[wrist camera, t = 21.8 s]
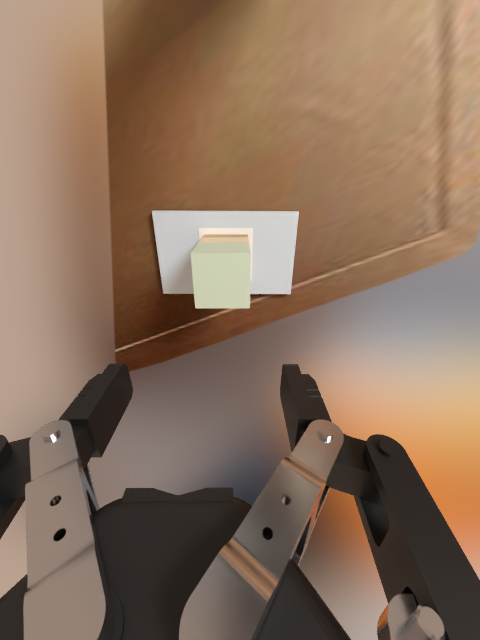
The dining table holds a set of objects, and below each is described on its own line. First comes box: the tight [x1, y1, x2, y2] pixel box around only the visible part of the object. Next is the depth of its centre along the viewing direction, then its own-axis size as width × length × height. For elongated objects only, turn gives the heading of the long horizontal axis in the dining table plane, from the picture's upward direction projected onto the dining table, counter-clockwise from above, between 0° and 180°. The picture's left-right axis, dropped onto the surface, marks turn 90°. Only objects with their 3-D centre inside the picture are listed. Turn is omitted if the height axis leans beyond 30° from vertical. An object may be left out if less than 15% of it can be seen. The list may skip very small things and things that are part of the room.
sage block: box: [190, 242, 251, 308], centre depth 30 cm, size 6×6×6 cm
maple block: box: [199, 234, 249, 242], centre depth 35 cm, size 6×6×6 cm
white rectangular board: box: [152, 210, 299, 294], centre depth 38 cm, size 12×20×1 cm, turn 90°
